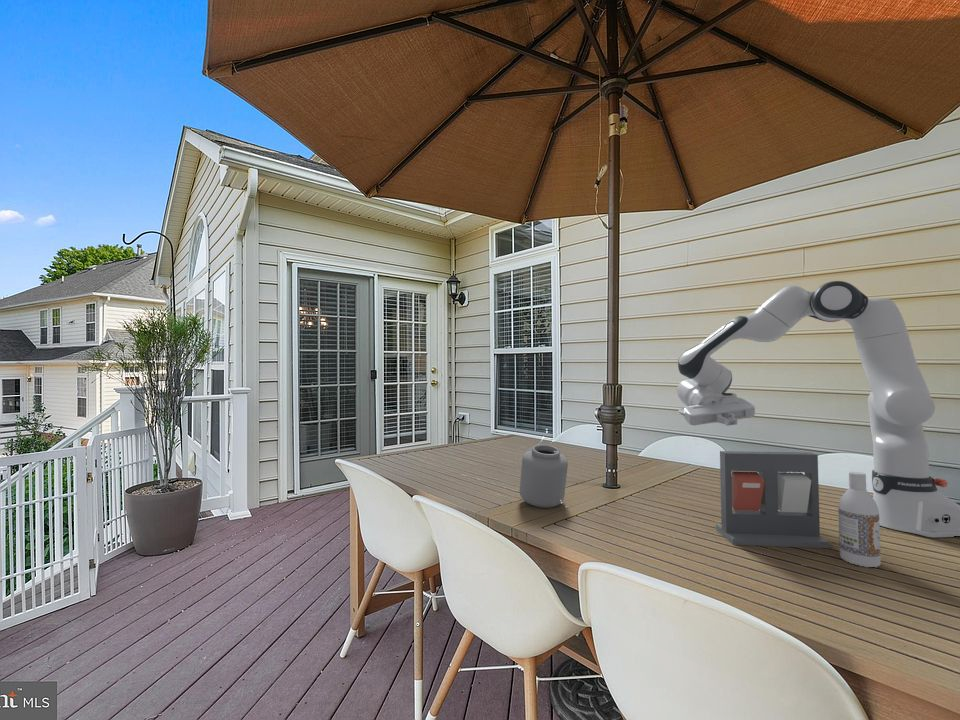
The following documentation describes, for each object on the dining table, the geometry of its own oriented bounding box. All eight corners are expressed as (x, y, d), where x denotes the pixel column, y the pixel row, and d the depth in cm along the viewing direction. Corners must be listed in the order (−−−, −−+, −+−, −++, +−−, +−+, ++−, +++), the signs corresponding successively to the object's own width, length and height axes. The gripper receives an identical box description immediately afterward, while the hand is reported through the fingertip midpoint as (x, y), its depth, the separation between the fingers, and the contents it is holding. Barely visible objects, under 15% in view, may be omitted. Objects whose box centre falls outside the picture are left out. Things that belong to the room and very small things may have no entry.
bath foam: (875, 571, 92) (872, 478, 93) (835, 559, 98) (832, 472, 99) (885, 563, 96) (882, 473, 97) (846, 552, 102) (843, 468, 103)
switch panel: (804, 532, 114) (802, 449, 115) (829, 548, 105) (826, 457, 105) (716, 529, 117) (714, 448, 118) (732, 544, 107) (730, 456, 108)
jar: (580, 510, 134) (579, 430, 135) (538, 516, 129) (537, 433, 130) (550, 494, 152) (549, 423, 152) (512, 499, 147) (511, 425, 147)
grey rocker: (797, 504, 113) (801, 472, 111) (806, 512, 109) (811, 480, 107) (772, 503, 114) (776, 472, 112) (781, 511, 110) (785, 479, 108)
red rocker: (751, 501, 115) (756, 472, 112) (759, 511, 111) (765, 481, 108) (727, 500, 116) (732, 471, 113) (734, 510, 112) (739, 481, 109)
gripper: (676, 401, 141) (697, 418, 128) (739, 392, 140) (766, 408, 127) (676, 418, 143) (697, 437, 129) (738, 410, 142) (766, 427, 129)
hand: (732, 423), depth 128 cm, fingers closed
